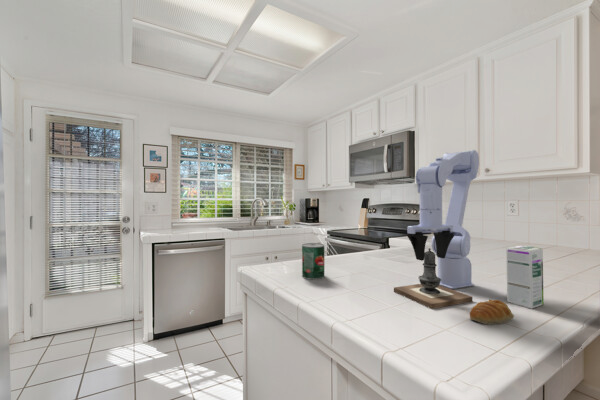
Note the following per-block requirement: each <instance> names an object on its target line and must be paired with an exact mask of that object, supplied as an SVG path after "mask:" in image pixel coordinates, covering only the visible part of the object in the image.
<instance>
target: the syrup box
mask: <svg viewBox="0 0 600 400" xmlns="http://www.w3.org/2000/svg"><path fill="white" fill-rule="evenodd" d="M543 253H544V251H543V248H540V247H535V246H529V245H516V246H511V247H510V246H508V247H506V253H505V254H506V299H507V303H511V304H513V305H517V306H520V307H524V308H528V309H531V310H532V309H534V308H537V307H540V306H544V302H545V301H544V300H545V299H544V261H543V260H544V256H543Z"/></svg>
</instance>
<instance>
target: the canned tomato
mask: <svg viewBox="0 0 600 400" xmlns="http://www.w3.org/2000/svg"><path fill="white" fill-rule="evenodd" d="M301 257H302V259H301V270H302V271H301V276H302V278H303V279H306V280H321V279H323V278H325V268H326V267H325V243H320V242H319V243H318V242H317V243H316V242H309V243H303V244H302V245H301Z"/></svg>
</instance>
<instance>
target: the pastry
mask: <svg viewBox="0 0 600 400" xmlns="http://www.w3.org/2000/svg"><path fill="white" fill-rule="evenodd" d="M469 318H470V320H473V321H475V322H478V323H481V324H483V325H501V324H503V323H504V324H505V323H508V322H511V321H512V320H513V319H514V318H515V317H514V313H512V310H511V309H510V307H509V306H508V304H507V303H506V302H504V301H502V300H498V299H489V300H486V301H479V302H477V303H476V304H475V305H474V306H473V307H472V308H471V310H470V311H469Z"/></svg>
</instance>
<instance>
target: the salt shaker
mask: <svg viewBox="0 0 600 400" xmlns="http://www.w3.org/2000/svg"><path fill="white" fill-rule="evenodd" d="M431 250H432V248H428V250H427V251H425V254H424V260H423V263H422V266H423V273H422V275H419V276H418V279H419V280H418V281H419V284H421V285H422V286H423V287H422V288H420V289H419V290H420V291H421V292H423V293H426V294H439V293H440V291H439V290H438V289H436V288H437V287H438V286H439V284H440V281H441V279H440V278H439V277H438V275H437V273H436V272H437V269H436V267H438V264H436V253H435V252H434V251H433V250H432V251H431Z"/></svg>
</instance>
